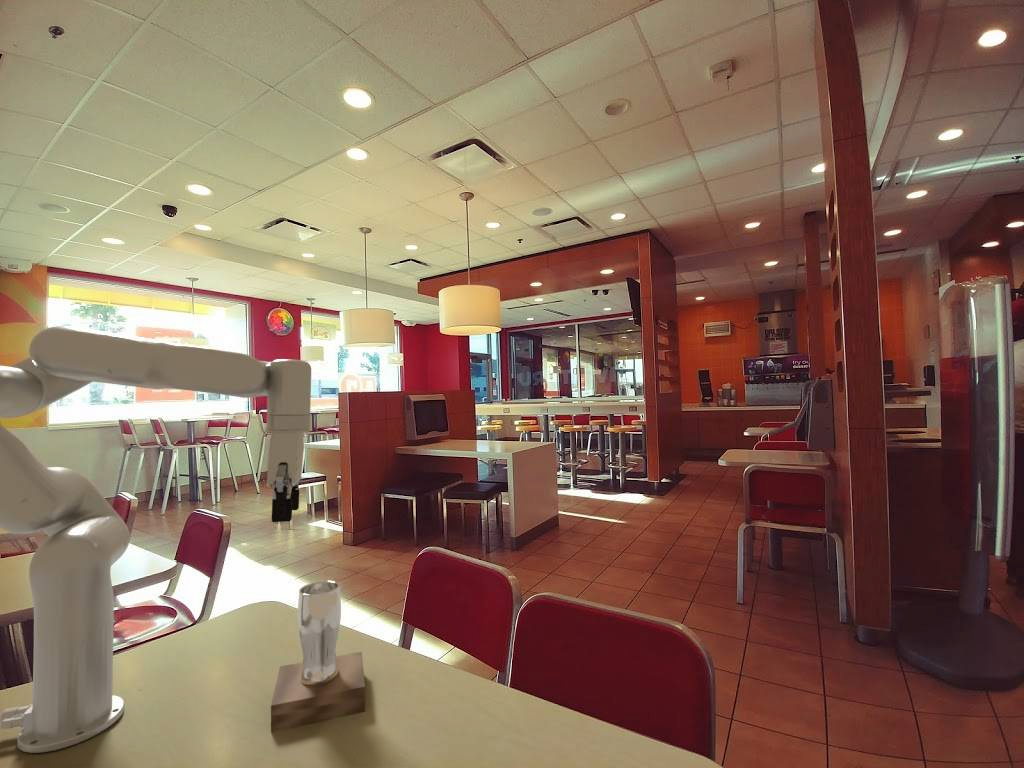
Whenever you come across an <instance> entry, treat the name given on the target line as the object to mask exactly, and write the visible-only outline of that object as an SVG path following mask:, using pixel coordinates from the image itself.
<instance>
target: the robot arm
mask: <svg viewBox="0 0 1024 768" xmlns="http://www.w3.org/2000/svg"><path fill="white" fill-rule="evenodd" d="M28 347H29V348H28V349H29V350H28V354H29V357H27V358H25V359H23V360H20V361H19V362H16V363H14V364H12V365H10V366H5V365H0V419H12V418H14V419H15V418H19V417H20V418H21V417H23V416H28V415H30V414H33V413H35V412H38V411H40V410H42V409H43V408H46V407H48V406H50V405H51V404H53V403H56V402H57V401H59V400H61V399H63V398H65V397H67V396H69V395H71V394H73V393H75V392H77V391H79V390H81V389H83V388H85V387H86V386H88V385H90V384H91V383H93V382H94V383H103V384H110V385H117V386H118V385H119V386H126V387H136V388H142V389H151V390H164V389H165V390H167V389H168V390H169V389H170V390H171V389H172V390H173V389H174V390H182V391H192V392H199V393H205V394H206V393H207V394H215V395H223V396H230V397H235V398H236V397H237V398H241V399H242V398H245V399H246V398H247V399H248V398H257V397H267V399H266V400H267V401H266V431H265V432H266V433H267V434H271V435H270V439H269V446H268V448H269V449H268V461H267V462H268V463H267V473H266V475H267V476H266V487H268V488H272V487H273V486H274V487H273V492H272V493H273V495H272V499H271V501H272V502H271V522H272V523H282V522H284V523H286V522H291V521H292V519H293V515H292V514H293V511H297V510H299V508H300V489H299V488H300V483H299V482H300V481H301V479H302V473H303V463H304V462H303V461H304V460H303V459H304V433H305V434H306V433H310V431H311V397H312V396H311V395H312V394H311V393H312V367H311V364H310V363H309V362H308V361H305V360H300V359H288V358H287V359H285V358H284V359H283V358H281V359H273V361H266V360H259V359H257V358H256V357H254V356H252V355H249V354H245V353H242V352H236V351H230V350H223V349H216V348H209V347H203V346H197V345H191V344H190V345H188V344H183V343H182V344H181V343H176V342H170V341H166V340H158V339H154V338H145V337H139V336H133V335H127V334H121V333H120V334H119V333H113V332H107V331H104V330H103V331H102V330H95V329H90V328H89V329H88V328H83V327H76V326H68V325H61V326H60V325H59V326H57V325H56V326H52V327H51V326H50V327H47V328H45V329H43V330H41V331H40V332H38V333H37V334H36V335H34V337H32V340H31V341H30V344H29V346H28ZM0 529H1V530H3V531H5V532H8V533H10V534H15V535H29V534H33V533H36V532H39V531H42V532H44V534H46V536H48V538H46V539H45V540H43V542H42V543H41V544H40V545H39V547H38V548H37V549H36V550H35V552H34V553H33V555H32V558H31V560H30V563H29V567H28V568H29V569H28V570H29V571H28V577H29V578H28V579H29V585H30V589H31V590H30V591H31V598H32V604H33V662H32V663H33V664H32V665H33V667H32V669H33V673H32V702H31V703H30V704H29V705H25V706H14V707H9V708H5V709H4V710H3V711H2V713H1V715H0V723H1V725H0V730H2V731H3V730H4V731H5V730H8V729H9V730H10V729H13V728H16V727H20V728H22V729H21V730H20V732H19V733H18V736H17V738H16V739H17V741H16V742H17V745H16V746H17V748H18V749H19V750H20V751H21V752H24V753H29V754H33V753H34V754H38V753H47V752H53V751H57V750H61V749H65V748H68V747H72V746H73V745H74V746H75V745H77V744H79V743H81V742H83V741H86V740H89V739H90V738H92V737H94V736H96V735H99V734H100V733H102V732H103V731H105V730H106V729H107V728H110V727H111V726H112V725H114V723H115V722H116V721H118V720H119V719H120V717H121V716H122V715H123V713H124V711H125V701H124V698H122V697H120V696H118V695H116V694H115V695H113V685H114V684H113V678H114V677H113V675H114V673H113V672H114V612H115V611H114V609H115V608H114V607H115V606H114V605H115V604H114V590H113V584H112V578H111V570H112V569H111V567H112V566H113V565H114V564H115V563H116V562H118V560H119V559H120V558H121V557H122V556H123V555H124V554H125V552H126V551H127V549H128V548H129V544H130V541H131V540H130V539H131V534H130V530H129V527H128V525H127V523H126V522H125V520H124V519H123V518H122V517H121V516H120V514H119V513H118V512H117V511H116V510H115V508H113V506H112V505H111V504H110V503H109V502H108V501H107V499H106V498H105V497H104V496H103V495H102V494H101V492H100V491H99V490H98V489H97V488H96V486H94V485H93V483H92V482H91V481H90V480H89V479H88V478H86V477H85V476H84V475H83V474H82V473H80V472H78V471H76V470H74V469H71V468H68V467H62V466H48V467H46V466H45V465H44V464H42V463H41V461H39V459H37V457H35V455H34V454H33V453H32V452H31V451H30V449H28V447H27V446H26V444H25V443H24V442H23V441H21V440H20V439H19V437H17V436H16V435H14V434H13V433H12V432H11V431H9V430H8V429H7V428H6V427H5V425H4V426H3V424H2V423H1V422H0Z"/></svg>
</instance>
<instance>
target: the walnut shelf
mask: <svg viewBox="0 0 1024 768" xmlns="http://www.w3.org/2000/svg"><path fill="white" fill-rule="evenodd" d="M336 659H337V664H338V675H337V676H336V677H335V678H334V679H333V680H331V681H330V682H328V683H325V684H322V685H317V686H308V685H304V684H303V683H302V682H301V673H302V667H303V661H302V662H297V663H293V664H292V663H291V664H287V665H286V664H285V665H281V666H279V669H278V674H277V679H276V683H275V687H274V690H273V696H272V701H271V703H270V732H271V733H273V732H277V731H283V730H287V729H291V728H295V727H300V726H304V725H310V724H314V723H318V722H323V721H326V720H331V719H336V718H341V717H345V716H349V715H354V714H359V713H364V712H366V684H365V682H366V681H365V672H364V662H363V659H364V658H363V652H362V651H359V652H358V651H357V652H354V653H353V652H352V653H347V654H341V655H336Z"/></svg>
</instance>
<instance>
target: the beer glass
mask: <svg viewBox="0 0 1024 768" xmlns="http://www.w3.org/2000/svg"><path fill="white" fill-rule="evenodd" d="M340 585H341V584H340V583H339V582H338V581H334V580H320V581H315V582H310V583H309V584H305V585H303V586H302V587H300V589H299V590H298V604H297V627H298V634H299V635H298V636H299V639H300V640H299V641H300V645H301V650H302V660H303V661H302V662H303V667H302V673H301V682H302V683H303V684H304V685H308V686H317V685H322V684H325V683H328V682H330V681H331V680H333V679H334V678H335V677H336V676H337V675H338V664H337V659H336V656H337V645H338V636H339V632H340V625H341V618H342V617H341V616H342V601H341V588H340Z"/></svg>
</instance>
